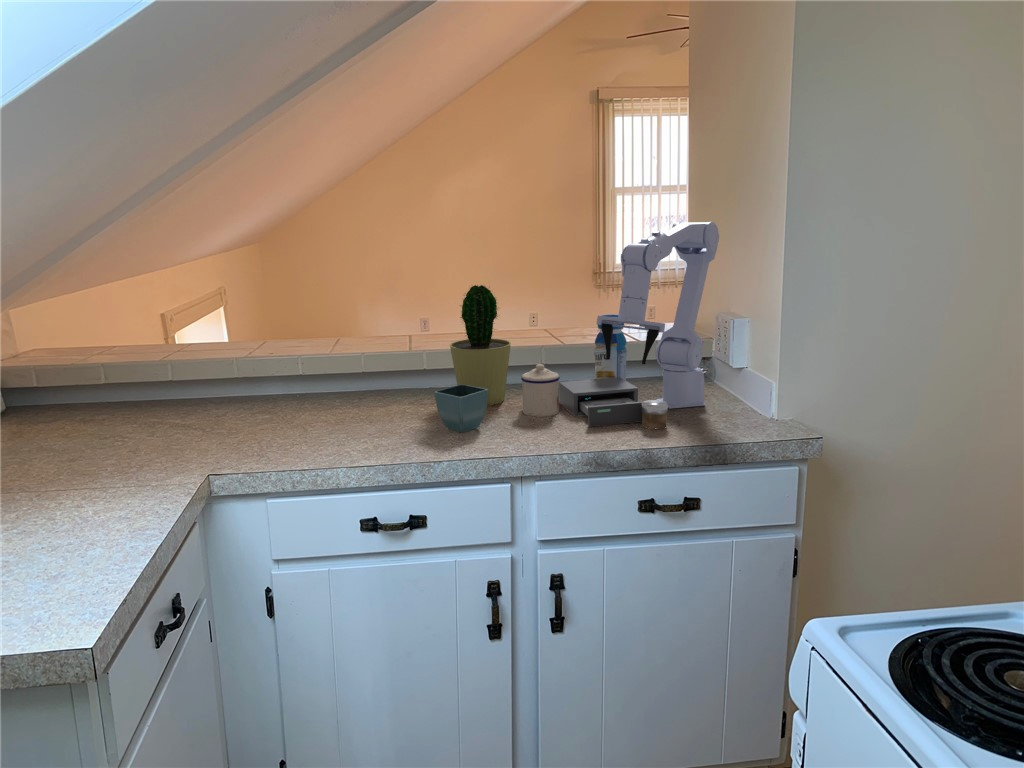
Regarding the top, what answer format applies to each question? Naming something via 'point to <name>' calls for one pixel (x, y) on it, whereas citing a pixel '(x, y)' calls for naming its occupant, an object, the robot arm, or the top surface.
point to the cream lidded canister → (540, 392)
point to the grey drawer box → (594, 392)
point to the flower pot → (461, 406)
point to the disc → (654, 407)
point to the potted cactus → (481, 346)
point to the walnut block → (654, 420)
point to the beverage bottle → (617, 357)
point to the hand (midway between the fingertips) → (625, 361)
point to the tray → (611, 411)
